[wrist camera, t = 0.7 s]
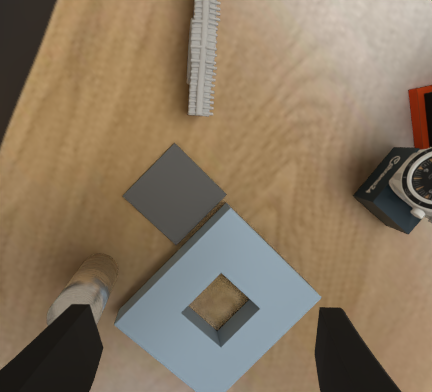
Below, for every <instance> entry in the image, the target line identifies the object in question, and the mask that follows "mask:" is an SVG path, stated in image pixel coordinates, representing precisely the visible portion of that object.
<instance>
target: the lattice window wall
mask: <svg viewBox="0 0 432 392" xmlns="http://www.w3.org/2000/svg"><path fill="white" fill-rule="evenodd" d="M220 4H221V3H220V2H217V0H194V15H193V18H191V22H190V33H189V46H188V63H187V84H189V103H188V115H196V116H209V115H213V113H210V112H209V110H210V109H212V110H213V107H210V104H214V102H212V101H210V99H214V97H213V96H210V93H213V94H214V91H211V87H215V85H213V84H211V81H214V82H215V79H213V78H212V75H215V76H216V73H213V69H215V70H216V69H217V67H214V64H215V65H216V62H214V57H217V54H215V51H216V50H217V48H215V44H216V43H217V41H216V37H217V34H216V31H217V30H218V28H216V26H218V23H216V21H220V18H216V15H218V16H220V13H218V12H216V10H218V11H220V8H218V7H216V5H220Z"/></svg>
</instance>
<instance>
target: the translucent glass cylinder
mask: <svg viewBox="0 0 432 392" xmlns="http://www.w3.org/2000/svg"><path fill="white" fill-rule="evenodd" d="M117 276H118V266H117V263H116V262H115V260H114V259H113V258H111V257H110V256H108V255H105V254H94V255H92V256H90V257H88V258H87V259H86V260H85V261H84V263H83V264H82V265H81V267H80V268H79V269H78V271H77V272H76V273H75V275H74V276H73V277H72V279H71V280H70V281H69V283H68V284H67V285H66V287H65V288H64V289H63V291H62V292H61V293H60V295H59V296H58V297H57V299H56V300H55V301H54V303H53V304H52V306H51V307H50V309H49V311H48V313H47V324H48V326H49V325H50V324H51V323H52V322H53V321H54V320H55V319H56V318H57V317H58V316H59V315H60V314H61V313H62V312H64V311H65V310H66V309H67V308H68V307H69V306H70V305H71V304H90V306H91V310H92V313H93V316H94V319H95V323H96V326H97V324H98V322H99V319H100V317H101V314H102V312H103V310H104V307H105V305H106V302H107V300H108V298H109V295H110V293H111V291H112V288H113V286H114V283H115V281H116V279H117Z"/></svg>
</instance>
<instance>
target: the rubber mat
mask: <svg viewBox="0 0 432 392" xmlns="http://www.w3.org/2000/svg"><path fill="white" fill-rule="evenodd" d="M226 195H227V194H226V193H225V192H224V191H223V190H222V189H221V188H220V187H219V186H218V185H217V184H215V183H214V182H213V181H212V180H211V179H210V178H209V177H208V176H207V175H206V174H205V173H204V172H203V171H202V170H201V169H200V168H199V167H198V166H197V165H196V164H195V163H194V162H193V161H192V160H191V159H190V158H189V157H188V156H187V155H186V154H185V153H184V152H183V151H182V150H181V149H180V148H179V147H178V146H177V145H176V144H175V143H174V144H173V145H172V146H171V147H170V148H169V149H168V150H167V151H166V152H165V153H164V154H163V155H162V156H161V157H160V158H159V159H158V160H157V162H156V163H155V164H154V165H153V166H152V167H151V168H150V169H149V170H148V171H147V172H146V173H145V174H144V175H143V176H142V177H141V178H140V179H139V180H138V181H137V182H136V183H135V184H134V185H133V186H132V187H131V188H130V189H129V190H128V191H127V192H126V193H125V194H124V195H123V197H124V198H125V199H126V200H127V201H128V202H129V203H131V204H132V205H133V206H134V207H135V208H136V209H137V210H138V211H139V212H140V213H142V214H143V215H144V216H145V217H146V218H147V219H148V220H149V221H150V222H151V223H152V224H154V225H155V226H156V227H157V228H158V229H159V230H160V231H161V232H162V233H163V234H164V235H166V236H167V237H168V238H169V239H170V240H171V241H172V242H173V243H174V244H175V245H177V244H178V243H179V242H180V241H181V240H182V239H183V238H184V237H185V236H186V235H187V234H188V233H189V232H190V231H191V230H192V229H193V228H194V227H195V226H196V225H197V224H198V223H199V222H200V221H201V220H202V219H203V218H204V217H205V216H206V215H207V214H208V213H209V212H210V211H211V210H212V209H213V208H214V207H215V206H216V205H217V204H218V203H219V202H220V201H221V200H222V199H223V198H224V197H225V196H226Z"/></svg>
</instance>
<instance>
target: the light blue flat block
mask: <svg viewBox="0 0 432 392" xmlns="http://www.w3.org/2000/svg"><path fill="white" fill-rule="evenodd" d="M220 273H222V274H223V275H224V276H225V277H227V278H228V279H229V280H230V281H231V282H232V283H233V284H234V285H235V286H236V287H237V288H238V289H239V290H241V291H242V292H243V293H244V294H245V295H246V296H247V297H248V298H249V300H248V301H247V302H246V303H245V304H244V305H243V306H242V307H241V308H240V309H239V310H238V311H237V312H236V313H235V314H234V315H233V316H232V317H231V318H230V319H229V320H228V321H227V322H226V323H225V324H224V325H223V326H222V327H221V328H220V329H219V330H218V331H216V330H215V329H214V328H213V327H212V326H210V325H209V324H208V323H207V322H206V321H205V320H204V319H203V318H201V317H200V316H199V315H198V314H197V313H196V312H195V311H193V310H192V309H191V308H190V307H189V306H188V305H189V304H190V303H191V302H192V301H193V300H194V299H195V298H196V297H197V296H198V295H199V294H200V293H201V292H202V291H203V290H204V289H205V288H206V287H207V286H208V285H209V284H210V283H211V282H212V281H213V280H214V279H215V278H216V277H217V276H218V275H219V274H220ZM321 298H322V297H321V296H320V295H319V294H318V293H317V292H316V291H315V290H314V289H313V288H312V287H311V286H310V285H309V284H308V283H307V282H306V281H305V280H304V279H303V278H302V277H301V276H300V275H299V274H298V273H297V272H296V271H295V270H294V269H293V268H292V267H291V266H290V265H289V264H288V263H287V262H286V261H285V260H284V259H283V258H282V257H281V256H280V255H279V254H278V253H277V252H276V251H275V250H274V249H273V248H272V247H271V246H270V245H269V244H268V243H267V242H266V241H265V240H264V239H263V238H262V237H261V236H260V235H259V234H258V233H257V232H256V231H255V230H254V229H253V228H252V227H251V226H250V225H249V224H248V223H247V222H246V221H244V220H243V219H242V218H241V217H240V216H239V215H238V214H237V213H236V212H235V211H234V210H233V209H232V208H231V207H230V206H229V205H228V204H227V203H225V204H224V205H223V206H222V207H221V208H220V209H219V210H218V211H217V212H216V213H215V214H214V215H213V216H212V217H211V218H210V219H209V220H208V221H207V222H206V223H205V224H204V225H203V226H202V227H201V228H200V229H199V230H198V231H197V232H196V233H195V234H194V235H193V236H192V237H191V238H190V239H189V240H188V241H187V242H186V243H185V244H184V245H183V246H182V247H181V248H180V249H179V250H178V251H177V252H176V253H175V254H174V255H173V256H172V257H171V258H170V259H169V260H168V261H167V262H166V263H165V264H164V265H163V266H162V267H161V268H160V269H159V270H158V271H157V272H156V273H155V274H154V275H153V276H152V277H151V278H150V279H149V280H148V281H147V282H146V283H145V284H144V285H143V286H142V287H141V288H140V289H139V290H138V291H137V292H136V293H135V294H134V295H133V296H132V297H131V298H130V299H129V300H128V301H127V302H126V303H125V304H124V305H123V306H122V307H121V308H120V309H119V311H118V314H117V317H116V320H115V323H114V325H115V326H116V327H117V328H118V329H120V330H121V331H122V332H123V333H125V334H126V335H127V336H128V337H129V338H131V339H132V340H133V341H134V342H136V343H137V344H138V345H139V346H141V347H142V348H143V349H144V350H145V351H147V352H148V353H149V354H150V355H152V356H153V357H154V358H155V359H156V360H158V361H159V362H160V363H161V364H163V365H164V366H165V367H166V368H167V369H169V370H170V371H171V372H172V373H174V374H175V375H176V376H177V377H179V378H180V379H181V380H182V381H183V382H185V383H186V384H187V385H188V386H190V387H191V388H192V389H193V390H194V391H196V392H226V391H227V390H228V389H229V388H230V387H231V386H232V385H233V384H234V383H235V382H236V381H237V380H238V379H239V378H240V377H241V376H242V375H243V374H244V373H245V372H246V371H247V370H248V369H249V368H250V367H251V366H252V365H253V364H254V363H255V362H256V361H257V360H258V359H259V358H261V357H262V356H263V355H264V354H265V353H266V352H267V351H268V350H269V349H270V348H271V347H272V346H273V345H274V344H275V343H276V342H277V341H278V340H279V339H280V338H281V337H282V336H283V335H284V334H285V333H286V332H287V331H288V330H289V329H290V328H291V327H292V326H293V325H294V324H295V323H296V322H297V321H298V320H299V319H300V318H301V317H302V316H303V315H304V314H305V313H306V312H307V311H308V310H309V309H311V308H312V307H313V306H314V305H315V304H316V303H317V302H318V301H319V300H320V299H321Z"/></svg>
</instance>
